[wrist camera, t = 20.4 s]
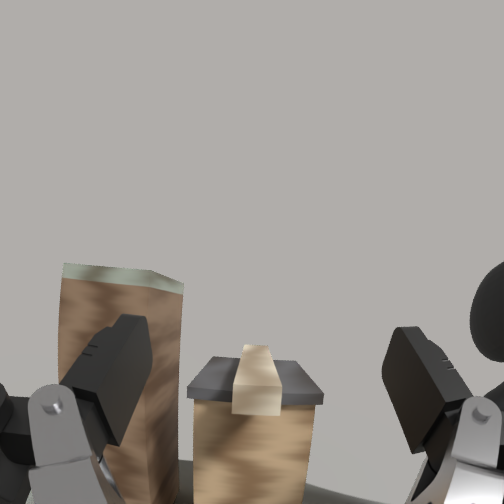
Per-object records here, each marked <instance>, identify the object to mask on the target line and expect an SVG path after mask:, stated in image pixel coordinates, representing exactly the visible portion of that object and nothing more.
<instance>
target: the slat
mask: <svg viewBox="0 0 504 504" xmlns="http://www.w3.org/2000/svg"><path fill="white" fill-rule="evenodd" d="M281 398H282V384H281V381H280V379H279V376H278V373H277V370H276V367H275V365H274V362H273V359H272V356H271V354H270V351H269V348H268V346H260V345H245V346H244V349H243V352H242V356H241V359H240V362H239V366H238V369H237V373H236V376H235V380H234V383H233V396H232V414H244V415H264V416H280V411H281Z"/></svg>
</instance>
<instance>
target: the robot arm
mask: <svg viewBox="0 0 504 504" xmlns="http://www.w3.org/2000/svg"><path fill="white" fill-rule="evenodd" d="M470 330H471V335H472V338H473V341H474V343H475V345H476V347H477V348H478V350H479V351H480V352H481V353H482V354H483V355H484V356H485V357H487V358H489V359H490V360H492V361H497V362H504V262H502V263H501V264H499V265H498V266H496V267H495V268H494V269H492V270H491V271H490V272H489V273H488V274H487V275H486V277H485V278H484V279H483V281H482V282H481V284H480V286H479V287H478V290H477V292H476V294H475V297H474V299H473V303H472V307H471V312H470ZM87 345H88V346H86V347H85V348H84V350H83V351H82V352H81V353H82V354H81V355H79V356H78V358H77V359H76V361H75V362H74V363H73V365H72V366H71V368H70V369H69V370H68V372H67V373H66V375H65V376H64V377H63V379H62V380H61V382H60V383H59V385H57V384H51V385H46V386H44V387H41V388H39V389H38V390H36V391H35V392H34V393H33V394H32V395H31V397H30V398H28V397H14V396H9V395H8V394H7V392H6V390H5V388H4V386H3V385H2V384H1V383H0V504H25V503H26V500H27V498H28V495H29V493H30V490H32V494H33V499H34V503H35V504H126V502H125V500H124V498H123V496H122V494H121V492H120V490H119V488H118V486H117V483H116V481H115V479H114V477H113V474H112V472H111V470H110V467H109V465H108V463H107V460H106V458H105V455H104V453H103V451H104V449H105V447H106V444H110V445H114V446H118V447H120V445H121V442H122V440H123V437H124V435H125V432H126V430H127V427H128V425H129V422H130V420H131V417H132V415H133V413H134V410H135V408H136V405H137V403H138V401H139V398H140V396H141V394H142V391H143V389H144V386H145V384H146V382H147V379H148V377H149V375H150V372H151V369H152V364H153V354H152V348H151V342H150V335H149V329H148V322H147V319H146V317H145V316H141V315H132V314H124V313H123V314H121V315H120V317H119V318H118V319H117V321H116V322H115V323H114V325H113V326H112V327H108V326H107V327H105V328H104V329H102V330H101V331H99V332H98V333H96V334H95V335H94V336H93V338H92V339H91V340H90V342H89V343H88V344H87ZM382 379H383V382H384V385H385V387H386V389H387V392H388V394H389V397H390V399H391V402H392V404H393V406H394V409H395V411H396V414H397V416H398V419H399V421H400V424H401V426H402V429H403V432H404V434H405V437H406V440H407V442H408V445H409V448H410V450H411V453H412V454H415V453H420V452H424V451H426V454H427V457H426V459H425V460H424V461H423V464H422V466H421V469H420V471H419V473H418V476H417V478H416V481H415V483H414V485H413V487H412V490H411V492H410V494H409V496H408V498H407V500H406V502H405V504H504V382H503V383H501V384H500V385H499V386H497V387H496V388H495V389H493V390H491V391H490V392H488V393H487V394H486V395H485V396H484V397H480V396H475V397H474V396H473V395H472V393H471V392H470V390H469V388H468V387H467V386H466V384H465V382H464V381H463V379H462V378H461V377H460V375H459V373H458V372H457V370H456V369H454V366H453V365H452V363H451V362H450V361H448V357H447V356H446V355H445V353H444V352H443V350H442V349H441V348H440V347H439V346H437V345H436V344H435V343H433V342H432V341H431V340H428V339H427V338H426V336H425V335H424V333H423V332H422V331H421V329H420V328H419V327H417V326H415V327H397V328H396V329H395V330H394V332H393V335H392V338H391V341H390V344H389V347H388V350H387V354H386V356H385V359H384V361H383V365H382Z"/></svg>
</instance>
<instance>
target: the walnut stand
mask: <svg viewBox="0 0 504 504" xmlns="http://www.w3.org/2000/svg"><path fill="white" fill-rule="evenodd" d="M183 287H184V284H183V283H181V282H178V281H176V280H173V279H171V278H169V277H166V276H164V275H161V274H158V273H156V272H154V271H151V270H139V269H126V268H115V267H103V266H92V265H81V264H70V263H64V265H63V273H62V283H61V294H60V307H59V327H58V376H59V377H58V378H59V383H60V382H61V380H62V379H63V377H64V376H65V375H66V373H67V372H68V370H69V369H70V368H71V366H72V365H73V363H74V362H75V361H76V359H77V358H78V356H79V355H81V354H82V353H81V352H82V351H83V350H84V348H85V347H86V346H88V345H87V344H88V343H89V342H90V340H91V339H92V338H93V336H94V335H95V334H96V333H98V332H99V331H101V330H102V329H104V328H105V327H107V326H108V327H112V326H113V325H114V323H115V322H116V321H117V319H118V318H119V317H120V315H121V314H123V313H124V314H132V315H141V316H145V317H146V319H147V322H148V329H149V335H150V342H151V348H152V354H153V364H152V369H151V372H150V375H149V377H148V379H147V382H146V384H145V386H144V389H143V391H142V394H141V396H140V398H139V401H138V403H137V405H136V408H135V410H134V413H133V415H132V417H131V420H130V422H129V425H128V427H127V430H126V432H125V435H124V437H123V440H122V442H121V445H120V447H118V446H114V445H110V444H106V447H105V449H104V451H103V453H104V455H105V458H106V460H107V463H108V465H109V467H110V470H111V472H112V474H113V477H114V479H115V481H116V483H117V486H118V488H119V490H120V492H121V494H122V496H123V498H124V500H125V502H126V504H173V502H174V500H175V498H176V495H177V493H178V491H179V467H178V387H179V386H178V384H179V356H180V355H179V354H180V335H181V316H182V302H183Z"/></svg>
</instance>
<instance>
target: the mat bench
mask: <svg viewBox="0 0 504 504" xmlns="http://www.w3.org/2000/svg"><path fill="white" fill-rule="evenodd" d="M240 359H241V358H226V357H212V358H211V360H210V361H209V362H208V363H207V365H206V366H205V367H204V368H203V369H202V370H201V371H200V372H199V374H198V375H197V376H196V377H195V378H194V380H193V381H192V382H191V383H190V384H189V385H188V386H187V398H191V399H192V398H193V399H194V425H193V431H194V432H193V490H194V504H302V500H303V494H304V488H305V482H306V475H307V469H308V462H309V455H310V447H311V439H312V431H313V423H314V422H313V421H314V414H315V405H322V404H323V397H324V393H323V392H322V391H321V389H320V388H319V387H318V386H317V385H316V384H315V383H314V381H313V380H312V379H311V378H310V377H309V376H308V375H307V373H306V372H305V371H304V370H303V369H302V368H301V366H300V365H299V364H298V363H297V362H296V361H283V360H273V362H274V365H275V367H276V370H277V373H278V376H279V379H280V381H281V384H282V398H281V411H280V416H264V415H244V414H232V396H233V383H234V380H235V376H236V373H237V369H238V366H239V362H240Z"/></svg>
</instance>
